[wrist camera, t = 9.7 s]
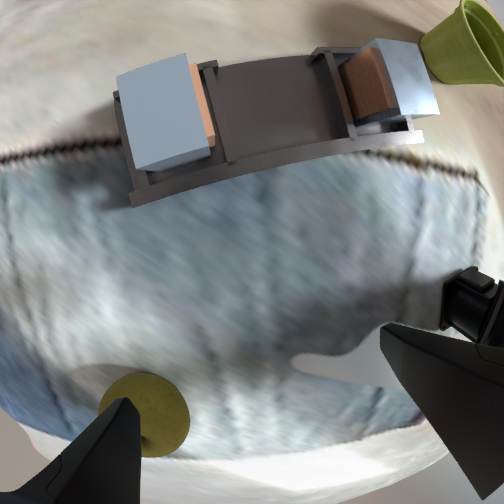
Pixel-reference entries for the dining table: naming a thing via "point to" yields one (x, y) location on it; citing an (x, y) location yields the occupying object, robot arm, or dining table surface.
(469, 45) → the plant pot
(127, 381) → the apple
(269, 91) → the rail
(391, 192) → the dining table surface
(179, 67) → the block
